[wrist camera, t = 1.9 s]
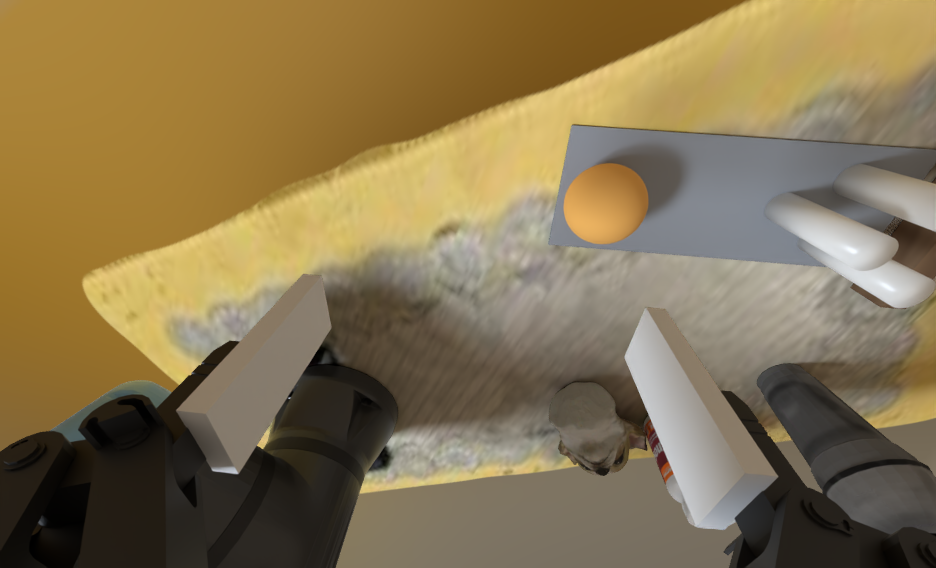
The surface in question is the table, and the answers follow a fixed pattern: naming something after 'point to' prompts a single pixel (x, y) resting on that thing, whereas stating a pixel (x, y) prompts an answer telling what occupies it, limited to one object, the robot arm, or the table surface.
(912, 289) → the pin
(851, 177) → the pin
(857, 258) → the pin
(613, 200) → the ball
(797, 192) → the lane mat
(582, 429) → the ceramic sculpture
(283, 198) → the table surface
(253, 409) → the robot arm
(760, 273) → the table surface
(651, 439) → the pill bottle
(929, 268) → the back wall
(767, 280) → the table surface
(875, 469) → the beverage cup
